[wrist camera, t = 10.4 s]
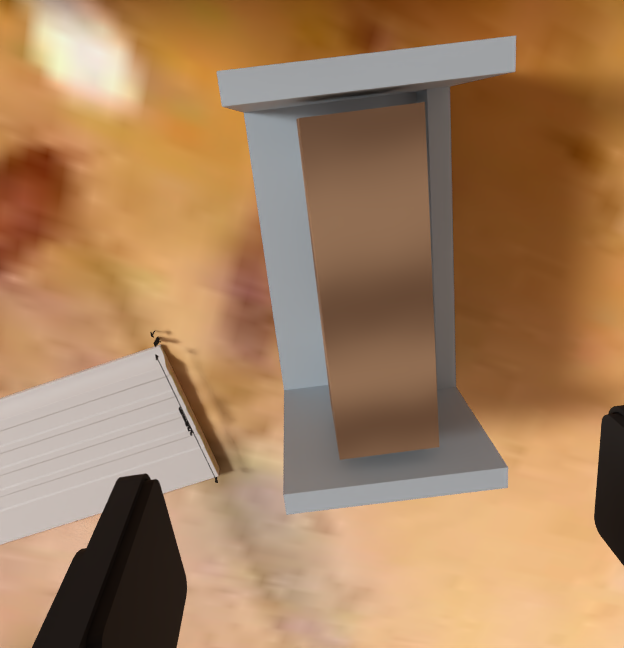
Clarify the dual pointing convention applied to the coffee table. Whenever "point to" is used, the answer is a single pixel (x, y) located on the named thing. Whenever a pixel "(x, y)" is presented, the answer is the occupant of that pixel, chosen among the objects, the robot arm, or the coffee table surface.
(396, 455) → the peg frame
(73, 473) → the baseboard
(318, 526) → the coffee table surface
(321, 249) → the shelf board
